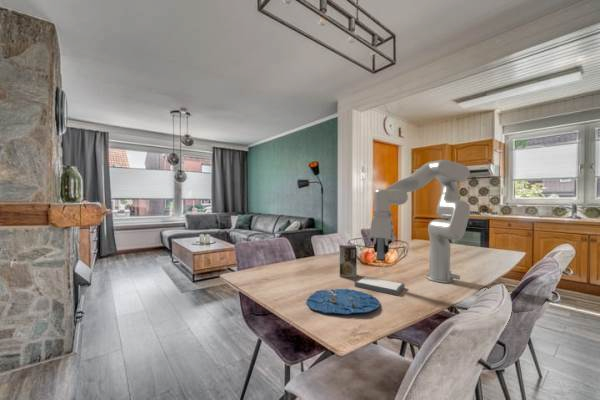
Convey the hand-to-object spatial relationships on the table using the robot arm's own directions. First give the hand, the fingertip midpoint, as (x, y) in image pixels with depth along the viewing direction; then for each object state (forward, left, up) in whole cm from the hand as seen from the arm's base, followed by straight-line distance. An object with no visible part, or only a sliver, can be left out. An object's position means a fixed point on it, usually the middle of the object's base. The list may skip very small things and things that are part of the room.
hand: (381, 252), depth 125 cm
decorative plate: (+7, +29, -17) cm, 35 cm away
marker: (0, 0, -4) cm, 4 cm away
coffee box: (+20, -6, -16) cm, 26 cm away
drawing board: (0, +2, -16) cm, 16 cm away
